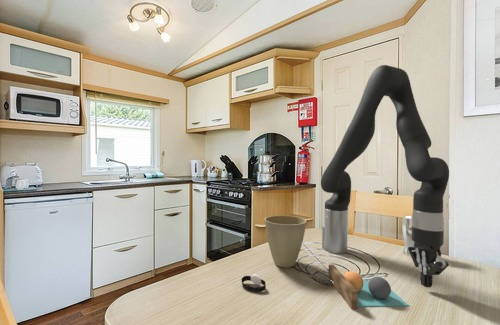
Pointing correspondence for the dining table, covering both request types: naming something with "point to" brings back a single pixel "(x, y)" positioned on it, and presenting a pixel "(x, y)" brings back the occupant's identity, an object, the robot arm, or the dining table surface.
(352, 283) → the terracotta ball
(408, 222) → the beer glass
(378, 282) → the charcoal ball
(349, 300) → the walnut stopper
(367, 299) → the teal mark
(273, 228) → the plant pot
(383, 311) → the dining table surface
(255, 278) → the watch
